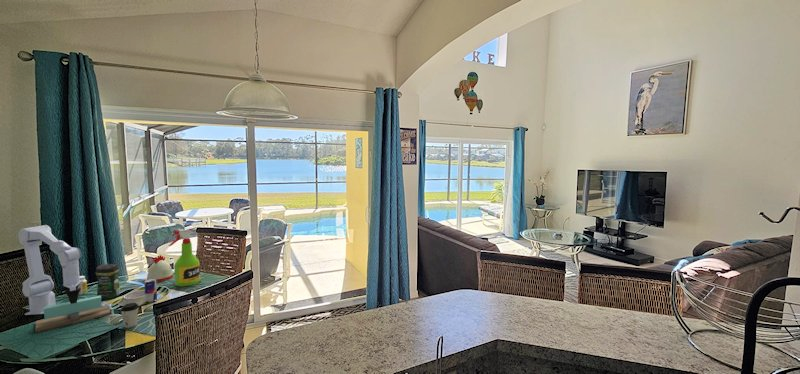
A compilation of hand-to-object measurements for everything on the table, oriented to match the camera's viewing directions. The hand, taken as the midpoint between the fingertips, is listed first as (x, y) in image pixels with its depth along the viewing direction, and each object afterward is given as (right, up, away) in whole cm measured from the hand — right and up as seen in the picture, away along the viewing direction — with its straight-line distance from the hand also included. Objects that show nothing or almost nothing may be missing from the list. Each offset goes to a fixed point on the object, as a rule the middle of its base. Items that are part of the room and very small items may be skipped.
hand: (73, 300), depth 165 cm
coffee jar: (-5, -7, +26) cm, 28 cm away
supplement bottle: (-24, -6, +30) cm, 39 cm away
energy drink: (+22, -8, +22) cm, 32 cm away
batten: (0, -6, +1) cm, 6 cm away
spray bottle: (+24, -5, +47) cm, 53 cm away
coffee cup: (+31, -11, -4) cm, 33 cm away
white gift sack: (+3, -4, +55) cm, 56 cm away
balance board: (0, -9, +1) cm, 9 cm away
